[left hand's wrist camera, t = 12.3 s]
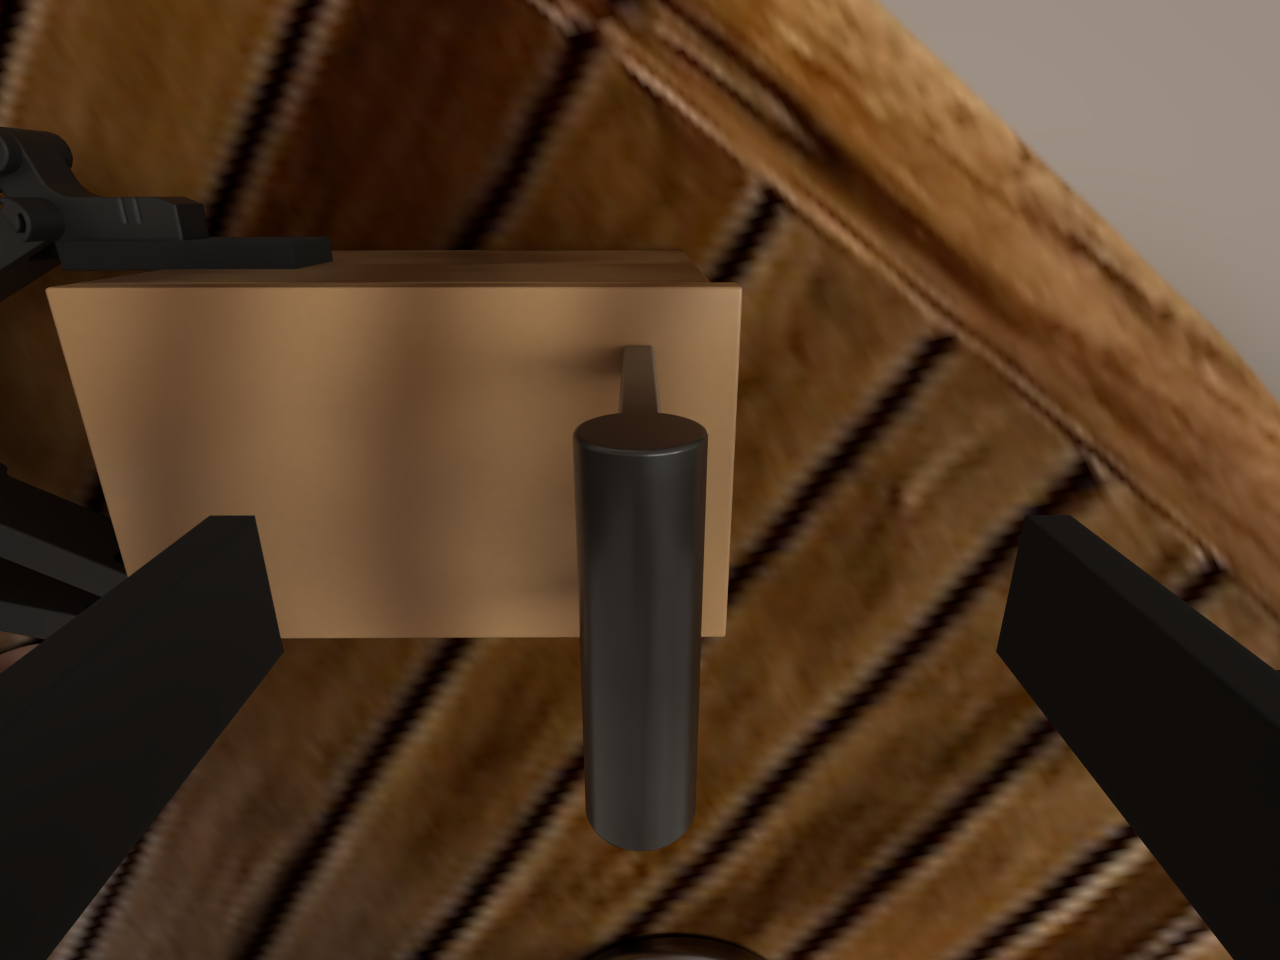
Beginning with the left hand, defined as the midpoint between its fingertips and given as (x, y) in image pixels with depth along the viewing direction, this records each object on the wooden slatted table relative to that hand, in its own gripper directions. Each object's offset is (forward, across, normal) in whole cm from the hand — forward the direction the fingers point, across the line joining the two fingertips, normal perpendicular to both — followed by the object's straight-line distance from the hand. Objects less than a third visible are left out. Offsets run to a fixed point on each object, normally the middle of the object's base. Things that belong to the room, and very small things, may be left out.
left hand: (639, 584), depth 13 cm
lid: (+6, +6, 0) cm, 9 cm away
